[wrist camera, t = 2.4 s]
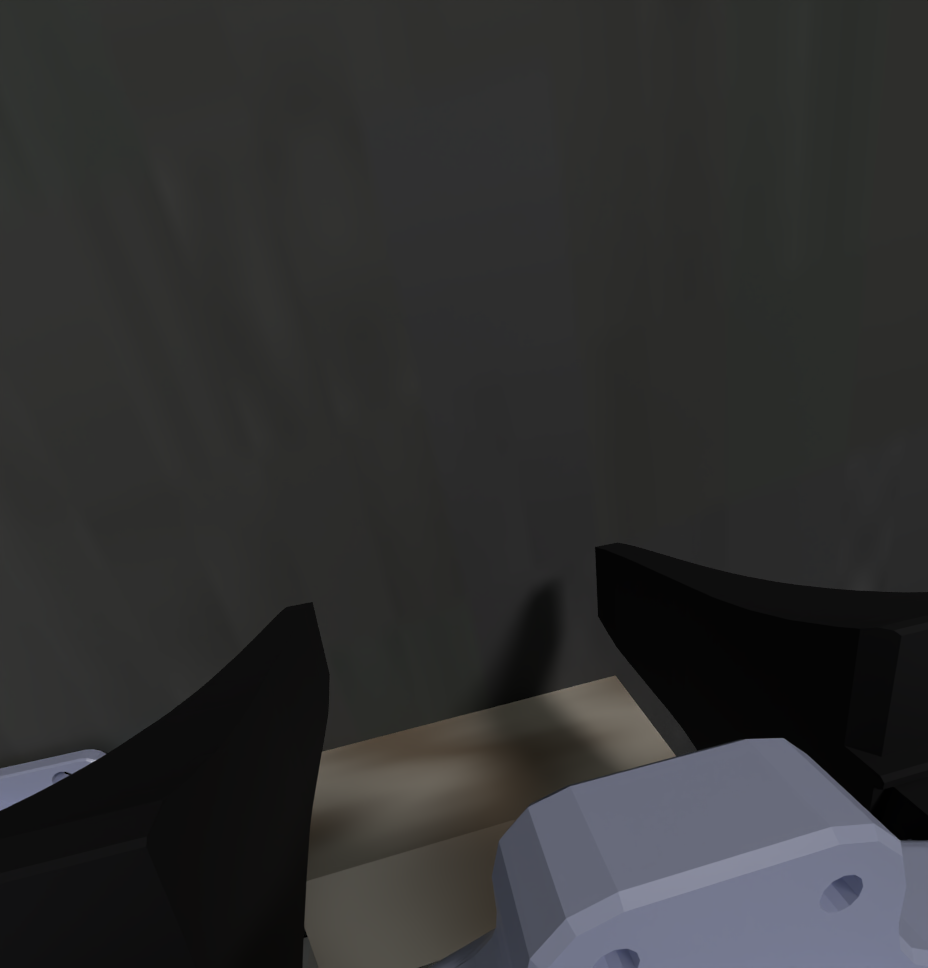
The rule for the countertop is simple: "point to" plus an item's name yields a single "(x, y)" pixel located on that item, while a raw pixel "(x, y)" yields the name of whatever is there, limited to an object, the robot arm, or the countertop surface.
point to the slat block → (448, 818)
